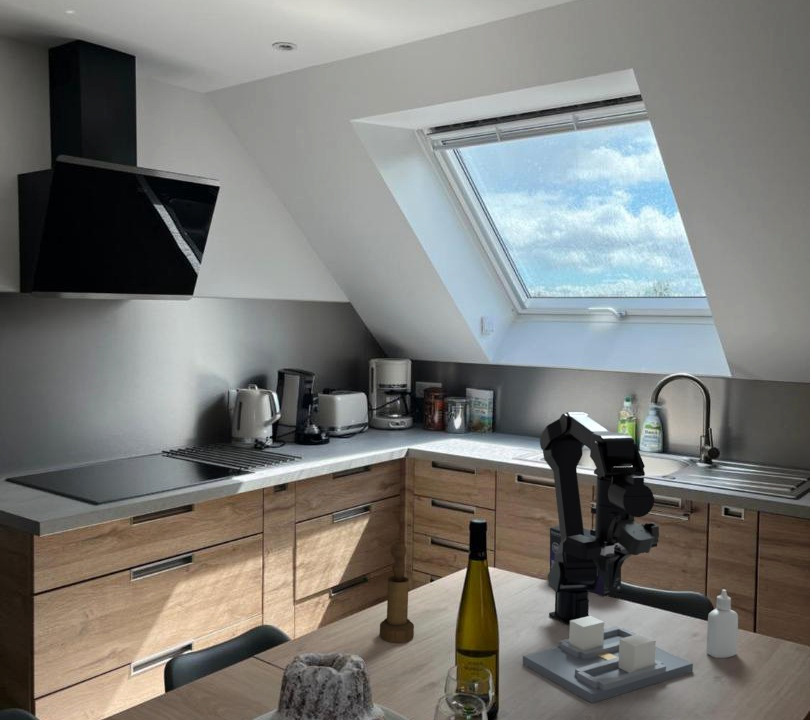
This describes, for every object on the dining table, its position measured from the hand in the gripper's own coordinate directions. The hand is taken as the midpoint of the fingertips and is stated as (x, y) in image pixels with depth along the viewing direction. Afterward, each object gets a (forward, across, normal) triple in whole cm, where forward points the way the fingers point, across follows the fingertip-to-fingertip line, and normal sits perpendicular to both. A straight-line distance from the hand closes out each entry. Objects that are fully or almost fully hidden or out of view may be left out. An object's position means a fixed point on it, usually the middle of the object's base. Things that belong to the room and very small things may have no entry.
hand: (609, 588), depth 153 cm
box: (+12, +24, +31) cm, 41 cm away
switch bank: (+12, -5, -5) cm, 14 cm away
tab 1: (+10, -5, 0) cm, 12 cm away
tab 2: (+10, -3, -10) cm, 15 cm away
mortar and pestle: (+12, -30, +25) cm, 41 cm away
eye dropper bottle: (+12, +18, -11) cm, 24 cm away
